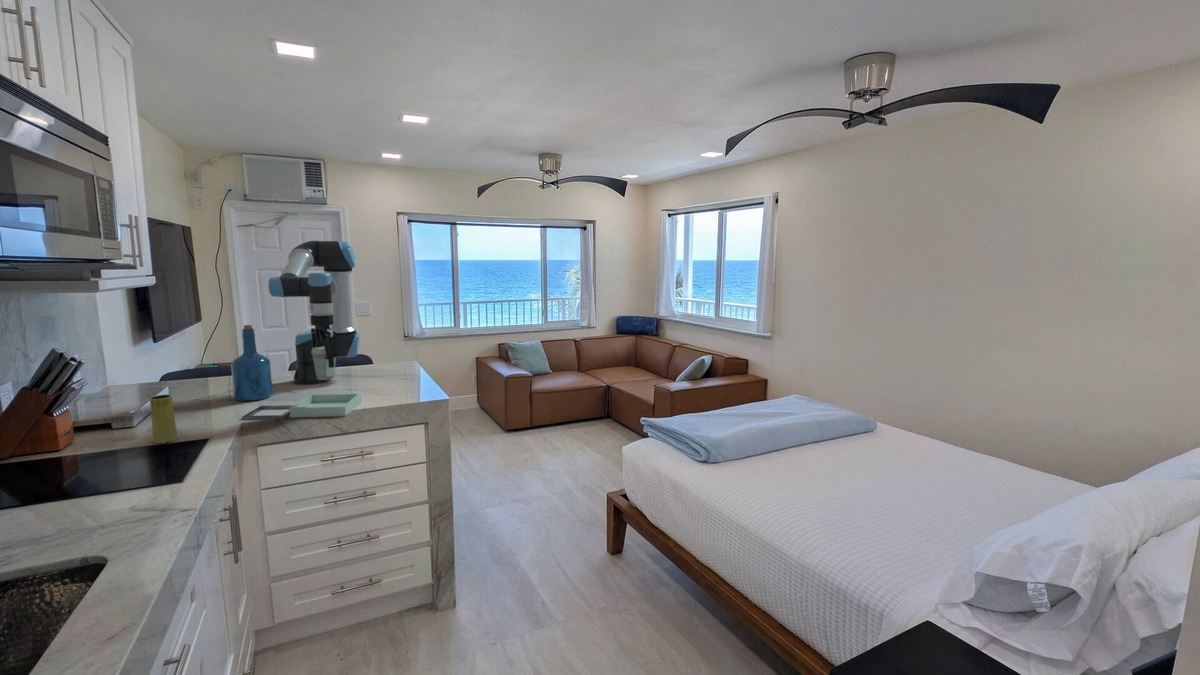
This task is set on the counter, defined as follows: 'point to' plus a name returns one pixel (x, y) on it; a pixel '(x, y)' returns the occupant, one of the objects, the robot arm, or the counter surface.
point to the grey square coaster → (249, 415)
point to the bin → (325, 405)
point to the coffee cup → (320, 363)
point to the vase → (163, 419)
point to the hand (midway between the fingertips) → (325, 374)
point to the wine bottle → (251, 371)
